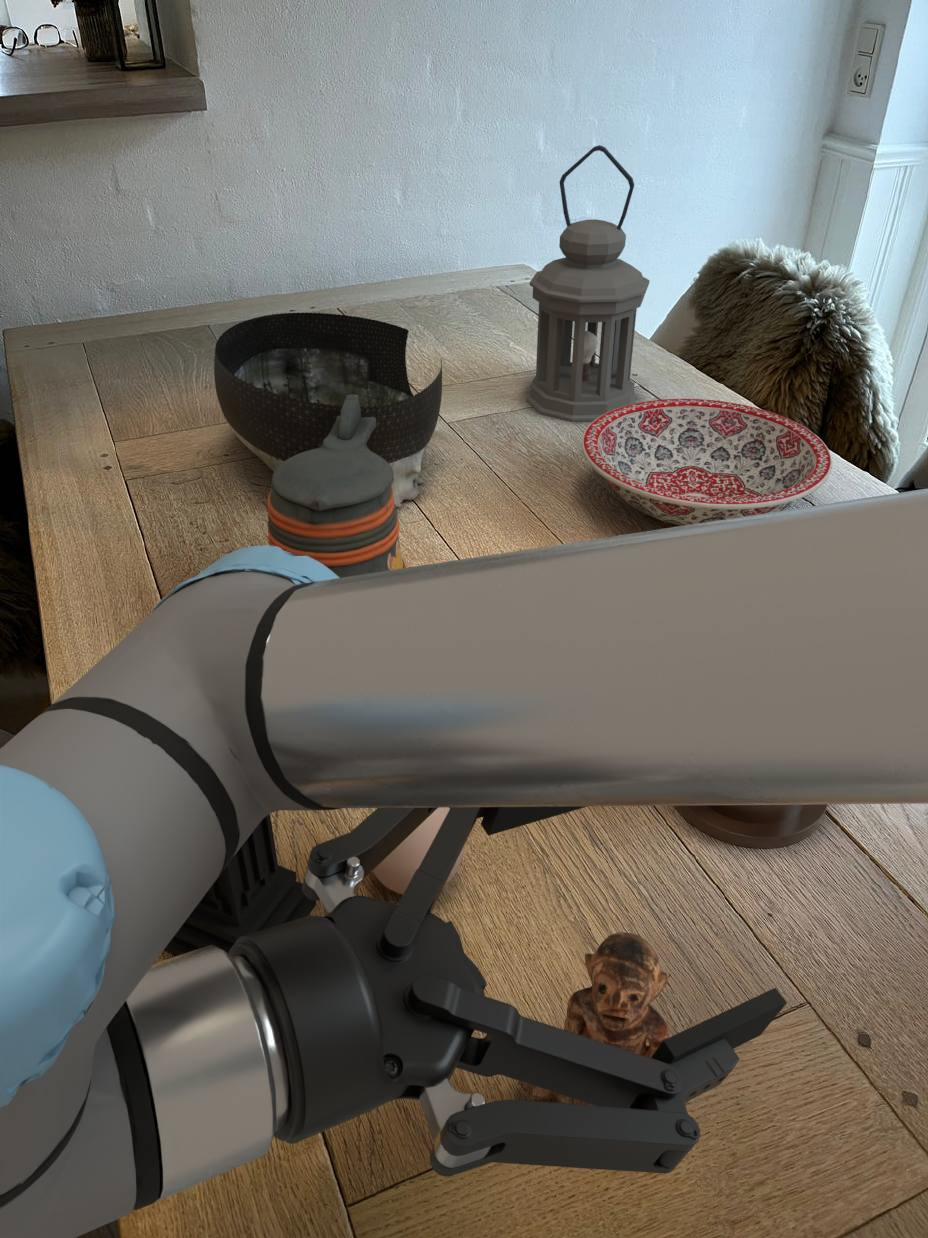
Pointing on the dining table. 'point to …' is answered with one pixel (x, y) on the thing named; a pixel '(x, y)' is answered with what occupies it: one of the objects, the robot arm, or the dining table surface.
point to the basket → (324, 388)
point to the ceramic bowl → (705, 459)
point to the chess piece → (244, 898)
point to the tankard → (338, 501)
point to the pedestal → (756, 823)
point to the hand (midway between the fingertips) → (674, 887)
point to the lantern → (586, 318)
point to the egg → (412, 854)
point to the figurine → (617, 1002)
